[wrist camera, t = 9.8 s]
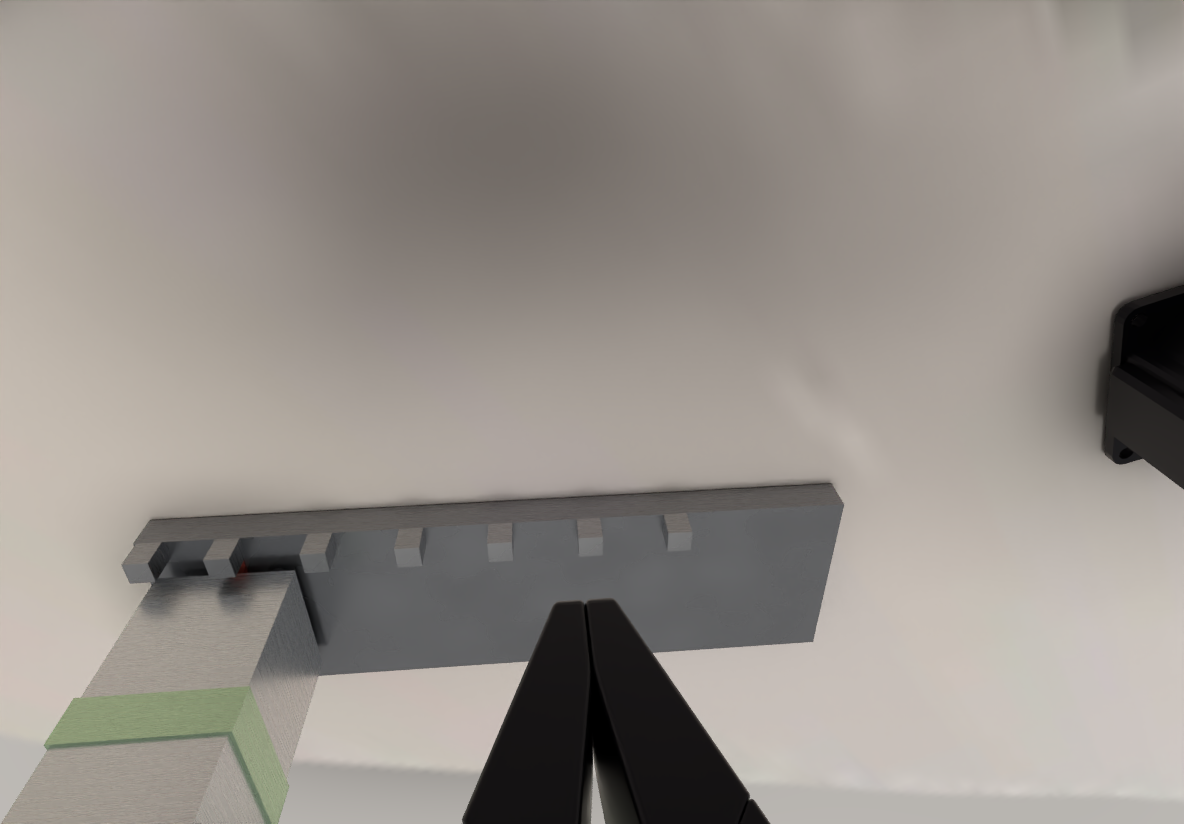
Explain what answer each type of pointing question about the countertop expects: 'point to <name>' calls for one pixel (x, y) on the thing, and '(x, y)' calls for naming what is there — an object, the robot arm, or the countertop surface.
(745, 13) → the countertop surface
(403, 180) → the countertop surface
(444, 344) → the countertop surface
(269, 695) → the column
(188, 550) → the track
